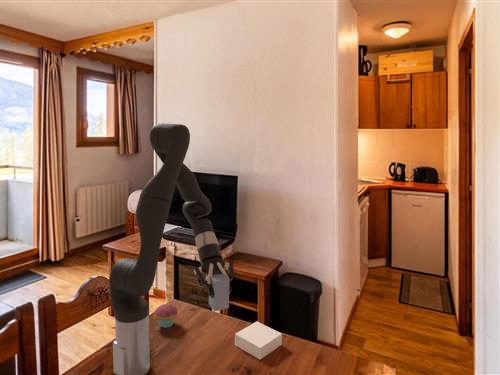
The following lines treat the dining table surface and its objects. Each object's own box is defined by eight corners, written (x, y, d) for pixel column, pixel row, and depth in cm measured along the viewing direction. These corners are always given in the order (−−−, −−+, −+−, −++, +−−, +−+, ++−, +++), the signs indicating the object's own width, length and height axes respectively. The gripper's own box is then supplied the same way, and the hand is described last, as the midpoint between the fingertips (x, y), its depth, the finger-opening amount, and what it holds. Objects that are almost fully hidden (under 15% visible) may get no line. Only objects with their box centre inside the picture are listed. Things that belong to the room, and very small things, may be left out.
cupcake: (164, 316, 133) (164, 286, 131) (183, 321, 129) (183, 291, 127) (149, 326, 125) (148, 295, 123) (168, 333, 122) (167, 300, 120)
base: (259, 359, 109) (260, 347, 108) (234, 344, 116) (235, 333, 115) (281, 344, 117) (281, 333, 116) (256, 331, 124) (256, 321, 123)
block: (214, 311, 111) (214, 281, 110) (208, 304, 115) (208, 275, 114) (228, 308, 113) (229, 278, 112) (222, 301, 118) (223, 273, 116)
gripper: (190, 245, 115) (203, 294, 106) (230, 240, 121) (245, 286, 113) (185, 255, 120) (197, 303, 111) (223, 250, 127) (237, 295, 118)
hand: (221, 294), depth 112 cm, fingers closed on block, 5 cm apart
